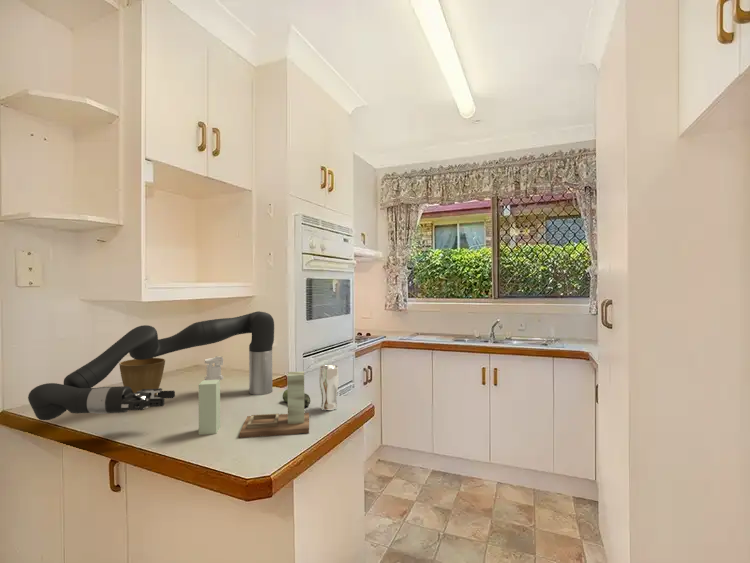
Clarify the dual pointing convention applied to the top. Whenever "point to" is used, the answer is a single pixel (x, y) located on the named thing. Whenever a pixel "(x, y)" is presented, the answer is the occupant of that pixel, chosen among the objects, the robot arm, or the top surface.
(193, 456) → the top surface
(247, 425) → the brown stand with socket
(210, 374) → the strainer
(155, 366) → the plant pot
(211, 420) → the sage pillar
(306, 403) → the vegetable
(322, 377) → the beer glass
